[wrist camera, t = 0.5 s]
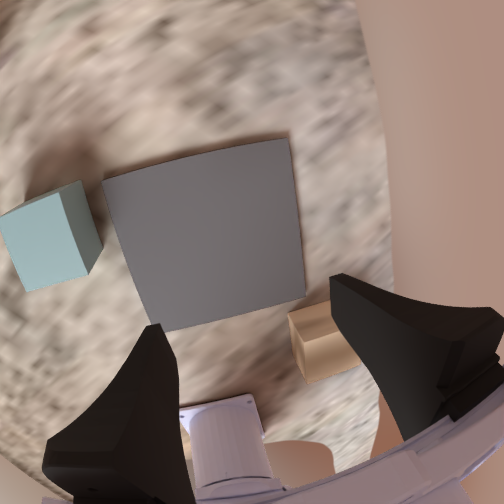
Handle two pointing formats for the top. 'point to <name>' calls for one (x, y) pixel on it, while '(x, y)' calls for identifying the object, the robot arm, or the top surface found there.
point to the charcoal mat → (210, 233)
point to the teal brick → (52, 237)
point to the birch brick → (319, 343)
